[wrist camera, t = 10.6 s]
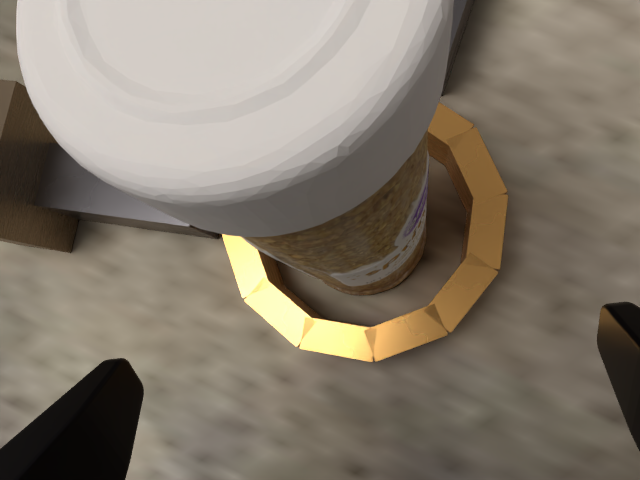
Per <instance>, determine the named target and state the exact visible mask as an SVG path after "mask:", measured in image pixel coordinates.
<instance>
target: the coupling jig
mask: <svg viewBox="0 0 640 480" xmlns="http://www.w3.org/2000/svg"><path fill="white" fill-rule="evenodd" d="M473 3H474V0H454V5H453V19H452V28H451V38H450V47H449V54H448V62H447V69H446V74H445V80H444V85H443V91H442V94H441V96H443V93H444V90H445V87H446V84H447V81H448V78H449V75H450V72H451V69H452V66H453V63H454V60H455V57H456V54H457V51H458V48H459V45H460V42H461V39H462V36H463V33H464V30H465V27H466V24H467V21H468V18H469V15H470V12H471V9H472V6H473ZM473 127H474V124H472V123H471V122H469V121H468V120H466V119H464V118H463V117H461V116H460V115H458V114H457V113H455V112H454V111H452V110H450V109H449V108H447V107H446V106H444V105H443V104H441V103H440V102H438V105H437V108H436V111H435V114H434V116H433V119H432V121H431V123H430V125H429V127H428V143H427V148H428V153H429V155H430V156H432V157H433V158H435V159H436V160H438V161H439V162H441V163H442V164H443V165H445V166H446V168H447V171H448V173H449V175H450V177H451V179H452V181H453V184H454V186H455V188H456V190H457V192H458V194H459V197H460V199H461V201H462V203H463V205H464V208H465V210H466V212H467V216H466V224H465V232H464V240H463V248H462V256H461V264H460V266H459V267H458V269H457V270H456V271H455V272H454V274H453V275H452V276H451V277H450V279H449V280H448V281H447V282H446V284H445V285H444V286H443V287H442V289H441V290H440V291H439V292H438V294H437V295H436V296H435V298H434V299H433V300H432V301H431V303H430V304H429V305H428V306H426V307H424V308H421V309H419V310H416V311H413V312H411V313H408V314H405V315H403V316H400V317H397V318H395V319H392V320H390V321H387V322H384V323H382V324H379V325H376V326H374V327H369V326H363V325H357V324H351V323H345V322H340V321H334V320H328V319H323V318H322V317H321V316H319V315H318V314H317V313H316V312H315V311H314V310H312V309H311V308H310V307H309V306H308V305H306V304H305V303H304V302H303V301H302V300H301V299H299V298H298V297H297V296H296V295H295V294H293V293H292V292H291V291H290V290H289V289H288V288H286V287H285V286H284V283H283V280H282V278H281V275H280V272H279V269H278V266H277V263H276V260H275V259H274V258H272V257H270V256H268V255H266V254H264V253H263V252H261V251H259V250H258V249H256V248H254V247H253V246H252V245H250V244H249V243H247V242H246V241H245V240H244V239H243V238H242V237H240V236H230V235H225V234H222V237H223V240H224V243H225V246H226V249H227V252H228V255H229V258H230V261H231V264H232V267H233V270H234V274H235V277H236V280H237V283H238V286H239V289H240V292H241V295H242V298H245V300H244V301H245V302H246V303H247V304H248V305H250V306H251V307H252V308H253V309H254V310H255V311H256V312H258V313H259V314H260V315H261V316H262V317H263V318H264V319H265V320H267V321H268V322H269V323H270V324H271V325H272V326H273V327H274V328H276V329H277V330H278V331H279V332H280V333H281V334H282V335H284V336H285V337H286V338H287V339H288V340H289V341H290V342H291V343H293V344H294V345H295V346H296V347H300V349H305V350H310V351H315V352H321V353H326V354H332V355H337V356H342V357H348V358H353V359H358V360H364V361H369V362H373V361H374V360H375V361H379V360H382V359H385V358H387V357H390V356H393V355H395V354H398V353H401V352H403V351H406V350H409V349H412V348H414V347H417V346H420V345H422V344H425V343H428V342H430V341H433V340H436V339H439V338H441V337H444V336H447V335H448V334H447V332H449V333H451V332H452V331H453V329H454V328H455V327H456V326H457V324H458V323H459V322H460V321H461V319H462V318H463V317H464V316H465V314H466V313H467V312H468V311H469V309H470V308H471V307H472V305H473V304H474V303H475V302H476V300H477V299H478V298H479V297H480V295H481V294H482V293H483V292H484V290H485V289H486V288H487V287H488V285H489V284H490V283H491V281H492V280H493V279H494V278H495V276H496V275H497V274H498V273H499V272H497V271H498V270H500V264H501V256H502V247H503V238H504V229H505V220H506V211H507V202H508V195H506V193H507V192H508V191H507V189H506V187H505V185H504V183H503V181H502V179H501V177H500V175H499V173H498V171H497V169H496V167H495V165H494V163H493V160H492V158H491V156H490V154H489V152H488V150H487V148H486V146H485V144H484V142H483V140H482V138H481V136H480V134H479V132H478V130H477V128H476V127H475V128H473ZM78 220H86V221H93V222H100V223H107V224H115V225H122V226H129V227H136V228H143V229H150V230H157V231H164V232H171V233H179V234H186V235H193V236H200V237H207V238H214V239H218V235H219V233H216V232H211V231H207V230H203V229H200V228H197V227H195V226H192V225H190V224H187V223H185V222H182V221H180V220H178V219H176V218H174V217H172V216H170V215H168V214H166V213H164V212H162V211H160V210H158V209H156V208H154V207H152V206H150V205H148V204H146V203H144V202H142V201H140V200H138V199H136V198H134V197H132V196H130V195H128V194H126V193H124V192H123V191H121V190H119V189H117V188H115V187H113V186H111V185H109V184H107V183H106V182H104V181H103V180H101V179H100V178H98V177H97V176H95V175H94V174H92V173H91V172H89V171H88V170H86V169H85V168H83V167H82V166H81V165H80V164H78V163H77V162H76V161H75V160H74V159H73V158H72V157H71V156H70V155H69V154H68V153H67V152H66V151H65V150H64V149H63V148H62V147H61V146H60V145H59V144H58V142H57V141H56V140H55V138H54V137H53V136H52V134H51V133H50V132H49V130H48V129H47V127H46V126H45V124H44V123H43V121H42V120H41V118H40V117H39V114H38V112H37V110H36V109H35V107H34V106H33V103H32V101H31V99H30V97H29V94H28V92H27V89H26V87H25V86H23V85H22V84H20V83H18V82H17V81H7V80H0V241H3V242H8V243H13V244H18V245H24V246H31V247H37V248H43V249H49V250H56V251H62V252H68V253H71V249H72V245H73V241H74V237H75V233H76V229H77V225H78Z"/></svg>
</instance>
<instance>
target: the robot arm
mask: <svg viewBox="0 0 640 480" xmlns="http://www.w3.org/2000/svg"><path fill="white" fill-rule="evenodd" d="M597 345H598V349H599V352H600V355H601V358H602V360H603V363H604V365H605V368H606V371H607V373H608V376H609V379H610V381H611V384H612V386H613V389H614V392H615V394H616V397H617V399H618V402H619V405H620V407H621V410H622V412H623V415H624V418H625V420H626V423H627V425H628V427H629V430H630V432H631V435H632V437H633V439H634V441H635V443H636V445H637V447H638V449H639V451H640V307H638V306H636V305H635V304H633V303H630V302H619V303H609V304H605V305H603V306H602V308H601V311H600V319H599V326H598V334H597ZM143 395H144V389H143V385H142V383H141V381H140V379H139V378H138V376H137V374H136V373H135V371H134V370H133V368H132V366H131V365H130V363H129V362H128V361H127V360H126V359H124V358H118V359H109V360H105V361H103V362H102V363H101V364H99V365H98V366H97V367H96V368H95V369H94V370H92V371H91V372H90V373H89V374H88V375H86V376H85V377H84V378H83V379H82V380H81V381H79V382H78V383H77V384H76V385H75V386H74V387H72V388H71V389H70V390H69V391H68V392H67V393H65V394H64V395H63V396H62V397H61V398H59V399H58V400H57V401H56V402H55V403H54V404H52V405H51V406H50V407H49V408H48V409H47V410H45V411H44V412H43V413H42V414H41V415H40V416H38V417H37V418H36V419H35V420H34V421H33V422H31V423H30V424H29V425H28V426H27V427H25V428H24V429H23V430H22V431H21V432H20V433H18V434H17V435H16V436H15V437H14V438H13V439H11V440H10V441H9V442H8V443H7V444H6V445H4V446H3V447H2V448H1V449H0V480H125V478H126V474H127V471H128V467H129V463H130V459H131V455H132V450H133V445H134V440H135V435H136V430H137V425H138V420H139V415H140V411H141V406H142V401H143Z"/></svg>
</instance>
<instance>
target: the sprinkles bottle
mask: <svg viewBox="0 0 640 480" xmlns="http://www.w3.org/2000/svg"><path fill="white" fill-rule="evenodd" d="M453 5H454V0H18V2H17V16H16V36H17V52H18V58H19V63H20V67H21V72H22V75H23V79H24V82H25V85H26V89H27V92H28V94H29V97H30V99H31V101H32V103H33V106H34V107H35V109H36V110H37V112H38V114H39V117H40V118H41V120H42V121H43V123H44V124H45V126H46V127H47V129H48V130H49V132H50V133H51V134H52V136H53V137H54V138H55V140H56V141H57V142H58V144H59V145H60V146H61V147H62V148H63V149H64V150H65V151H66V152H67V153H68V154H69V155H70V156H71V157H72V158H73V159H74V160H75V161H76V162H77V163H78V164H80V165H81V166H82V167H83V168H85V169H86V170H88V171H89V172H91V173H92V174H94V175H95V176H97V177H98V178H100V179H101V180H103V181H104V182H106V183H107V184H109V185H111V186H113V187H115V188H117V189H119V190H121V191H123V192H124V193H126V194H128V195H130V196H132V197H134V198H136V199H138V200H140V201H142V202H144V203H146V204H148V205H150V206H152V207H154V208H156V209H158V210H160V211H162V212H164V213H166V214H168V215H170V216H172V217H174V218H176V219H178V220H180V221H182V222H185V223H187V224H190V225H192V226H195V227H197V228H200V229H203V230H207V231H211V232H216V233H220V234H225V235H230V236H240V237H242V238H243V239H244V240H245V241H246V242H247V243H249V244H250V245H252V246H253V247H254V248H256V249H258V250H259V251H261V252H263V253H264V254H266V255H268V256H270V257H272V258H274V259H276V260H278V261H280V262H282V263H284V264H286V265H288V266H290V267H292V268H294V269H297V270H299V271H301V272H303V273H305V274H307V275H309V276H312V277H314V278H317V279H321V280H323V281H324V282H325V284H327V285H328V286H330V287H332V288H334V289H336V290H338V291H341V292H344V293H347V294H351V295H372V294H375V293H378V292H383V291H385V290H388V289H391V288H393V287H395V286H396V285H398V284H399V283H401V282H402V281H403V280H404V279H405V278H406V277H407V276H408V275H409V274H410V273H411V272H412V271H413V269H414V268H415V266H416V265H417V263H418V262H419V260H420V259H421V257H422V255H423V251H424V246H425V243H426V221H425V219H426V207H427V192H428V170H429V153H428V148H427V143H428V127H429V125H430V123H431V121H432V119H433V116H434V114H435V111H436V108H437V105H438V102H439V100H440V97H441V94H442V91H443V85H444V80H445V74H446V69H447V62H448V54H449V47H450V38H451V28H452V19H453Z"/></svg>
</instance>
